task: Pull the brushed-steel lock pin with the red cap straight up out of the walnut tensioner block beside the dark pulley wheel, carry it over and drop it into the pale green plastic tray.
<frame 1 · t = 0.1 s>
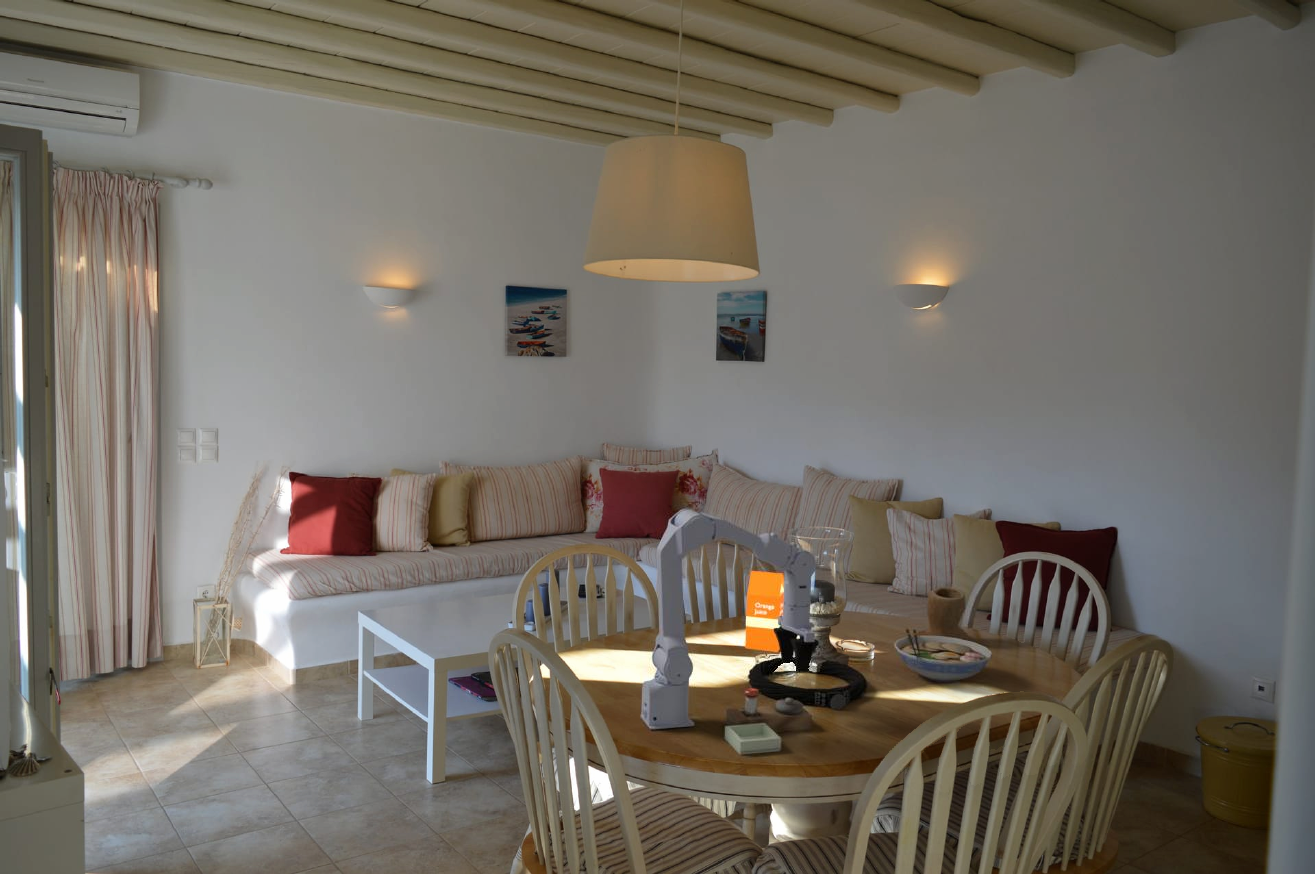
hand: (794, 666, 212), 10 cm above the table, tool pointing down, fingers open, 7 cm apart
tensioner block: (768, 726, 203), on the table
ramen bowl: (941, 678, 239), on the table
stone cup: (944, 642, 271), on the table
cable lock: (808, 690, 229), on the table
tray: (752, 744, 193), on the table
orange juice: (764, 647, 262), on the table
lock pin: (750, 727, 202), resting in tensioner block
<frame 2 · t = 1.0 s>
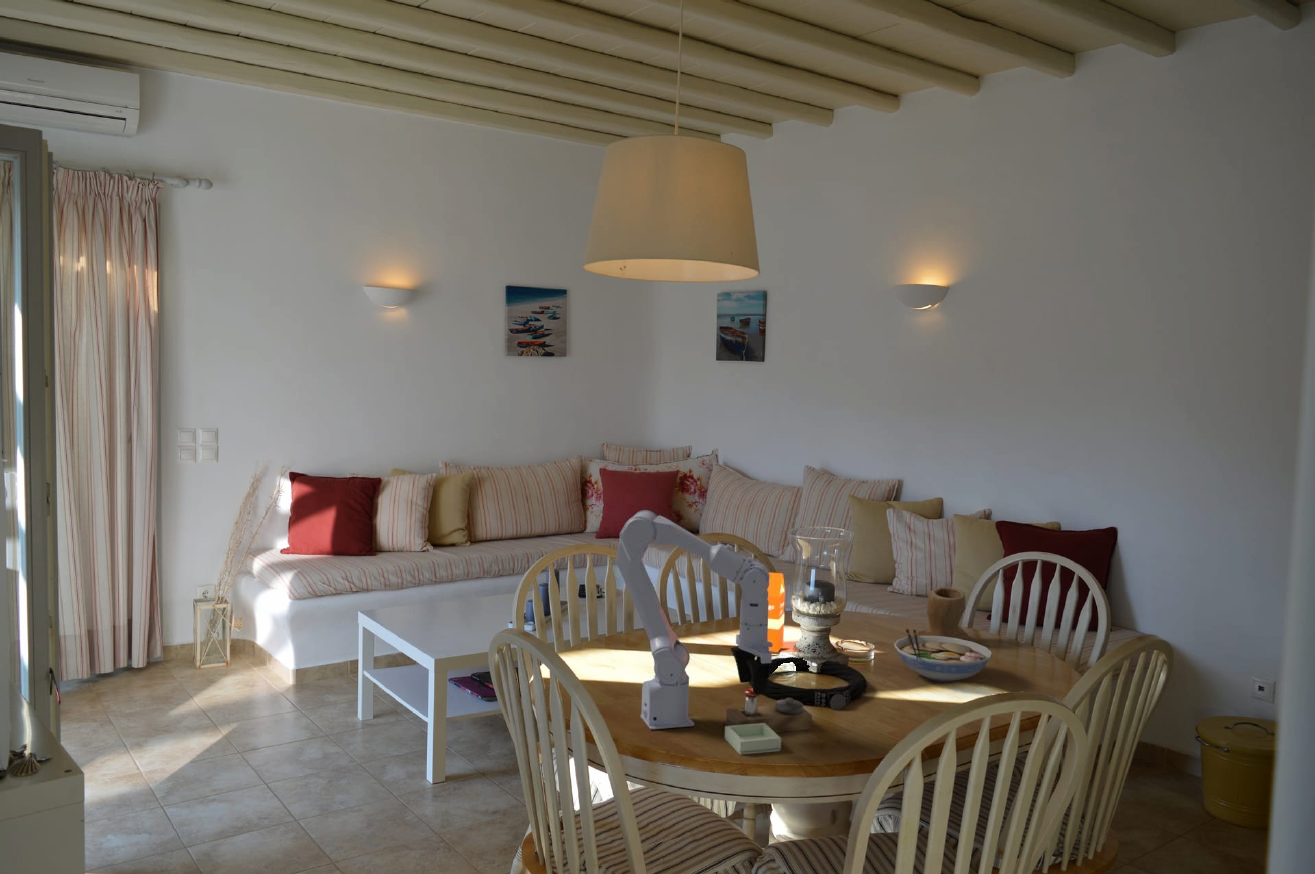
hand: (752, 687, 202), 8 cm above the table, tool pointing down, fingers open, 7 cm apart
nothing on the table moved.
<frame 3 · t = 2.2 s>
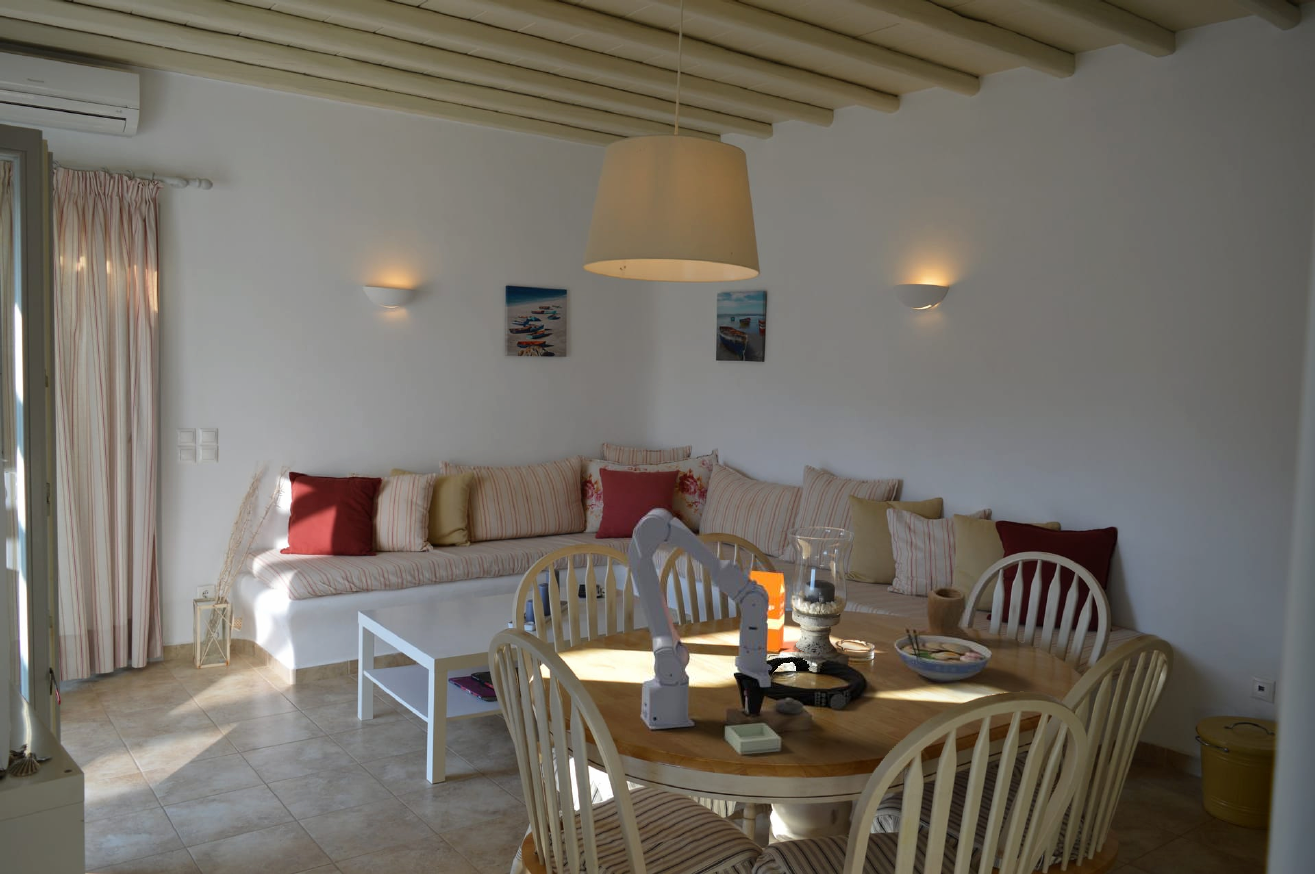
hand: (751, 710, 202), 4 cm above the table, tool pointing down, fingers closed on lock pin, 3 cm apart
lock pin: (750, 727, 202), resting in tensioner block, touching gripper
everything else where it was.
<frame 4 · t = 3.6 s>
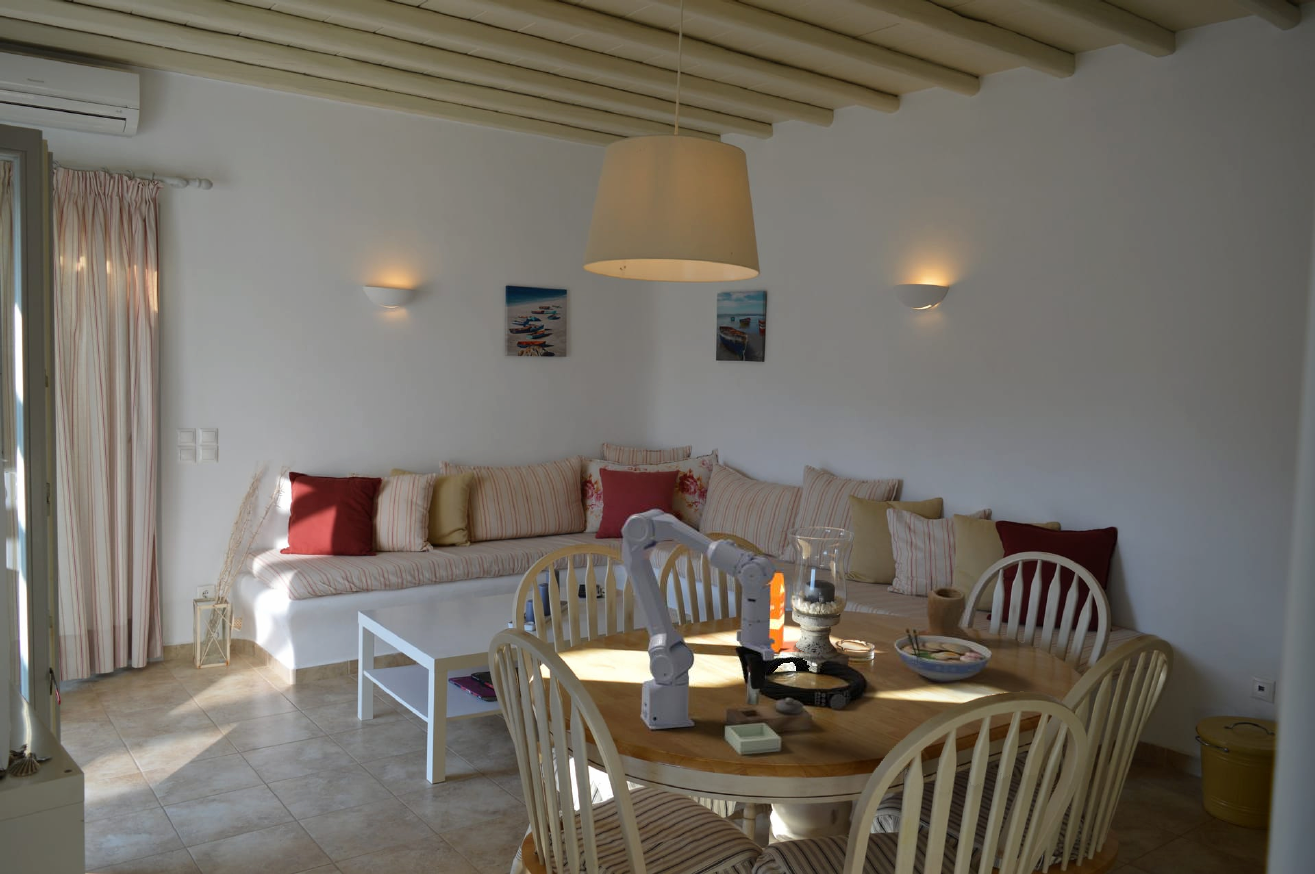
hand: (753, 685, 197), 10 cm above the table, tool pointing down, fingers closed on lock pin, 3 cm apart
lock pin: (752, 703, 197), point 7 cm above the table, touching gripper
everything else where it was.
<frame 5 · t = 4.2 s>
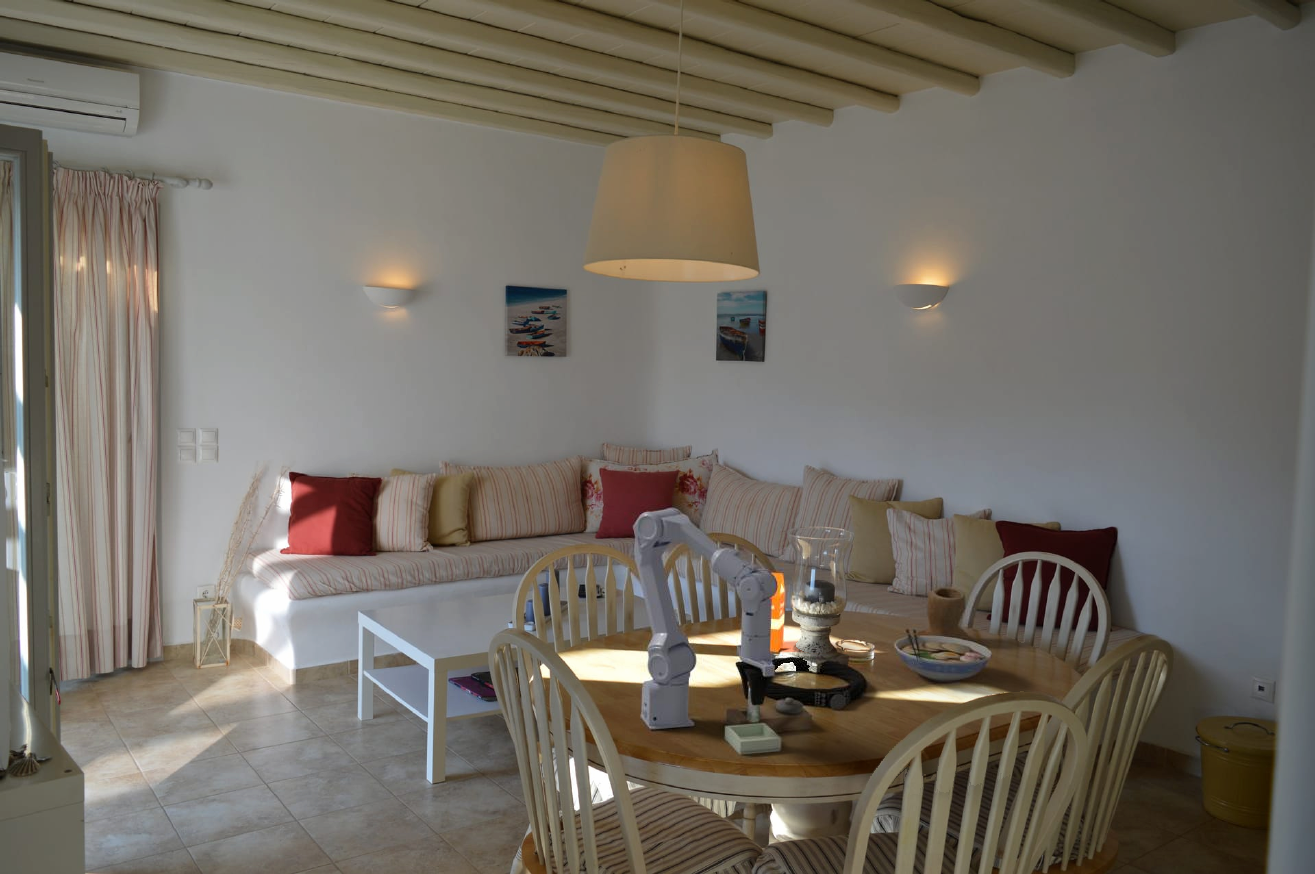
hand: (753, 701, 193), 9 cm above the table, tool pointing down, fingers closed on lock pin, 3 cm apart
lock pin: (753, 719, 193), point 5 cm above the table, touching gripper
everything else where it was.
when the fingers open (6 cm above the table, at t = 4.9 s): lock pin drops 1 cm, resting on tray.
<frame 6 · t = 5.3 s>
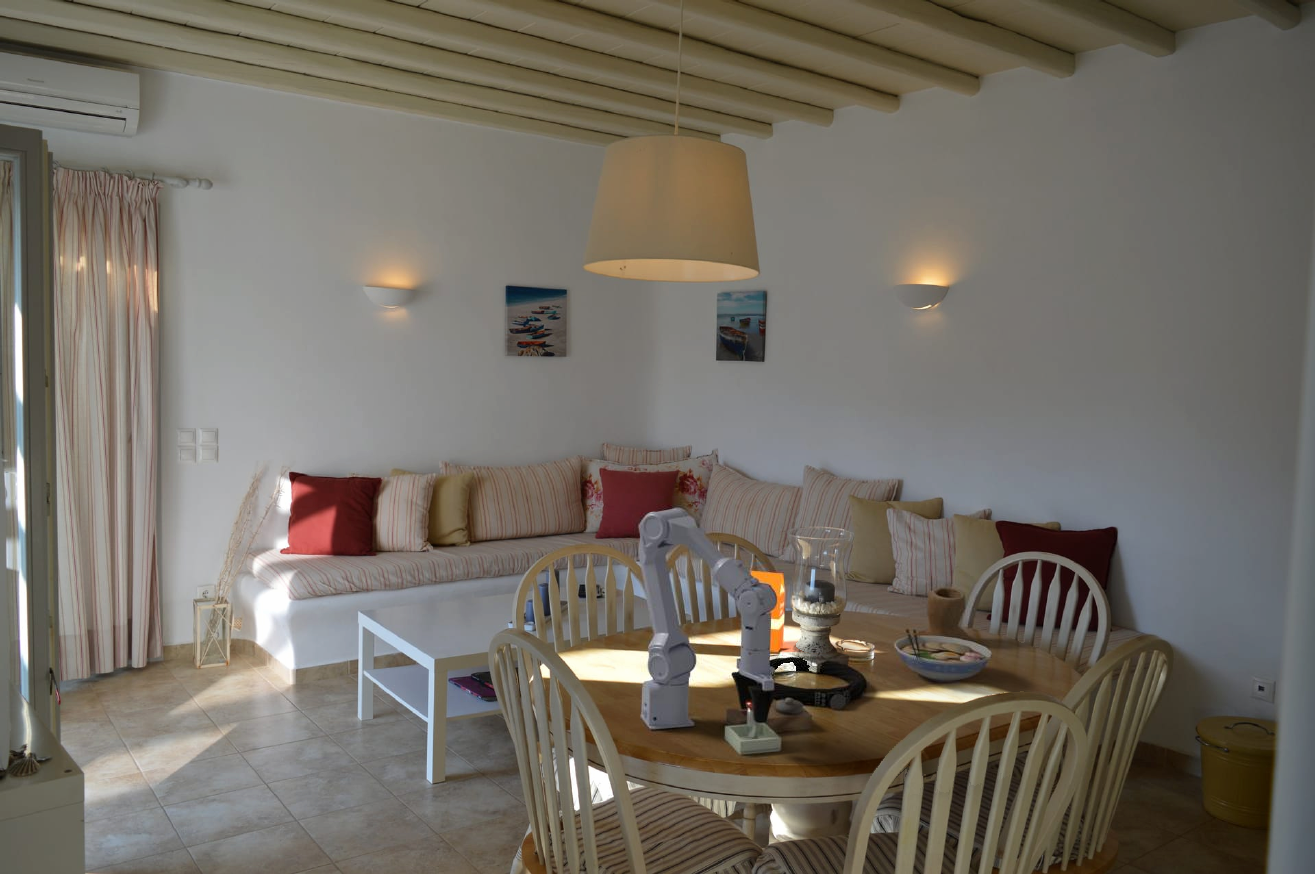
hand: (753, 715, 193), 6 cm above the table, tool pointing down, fingers open, 7 cm apart
lock pin: (752, 740, 194), point 1 cm above the table, touching tray
everything else where it was.
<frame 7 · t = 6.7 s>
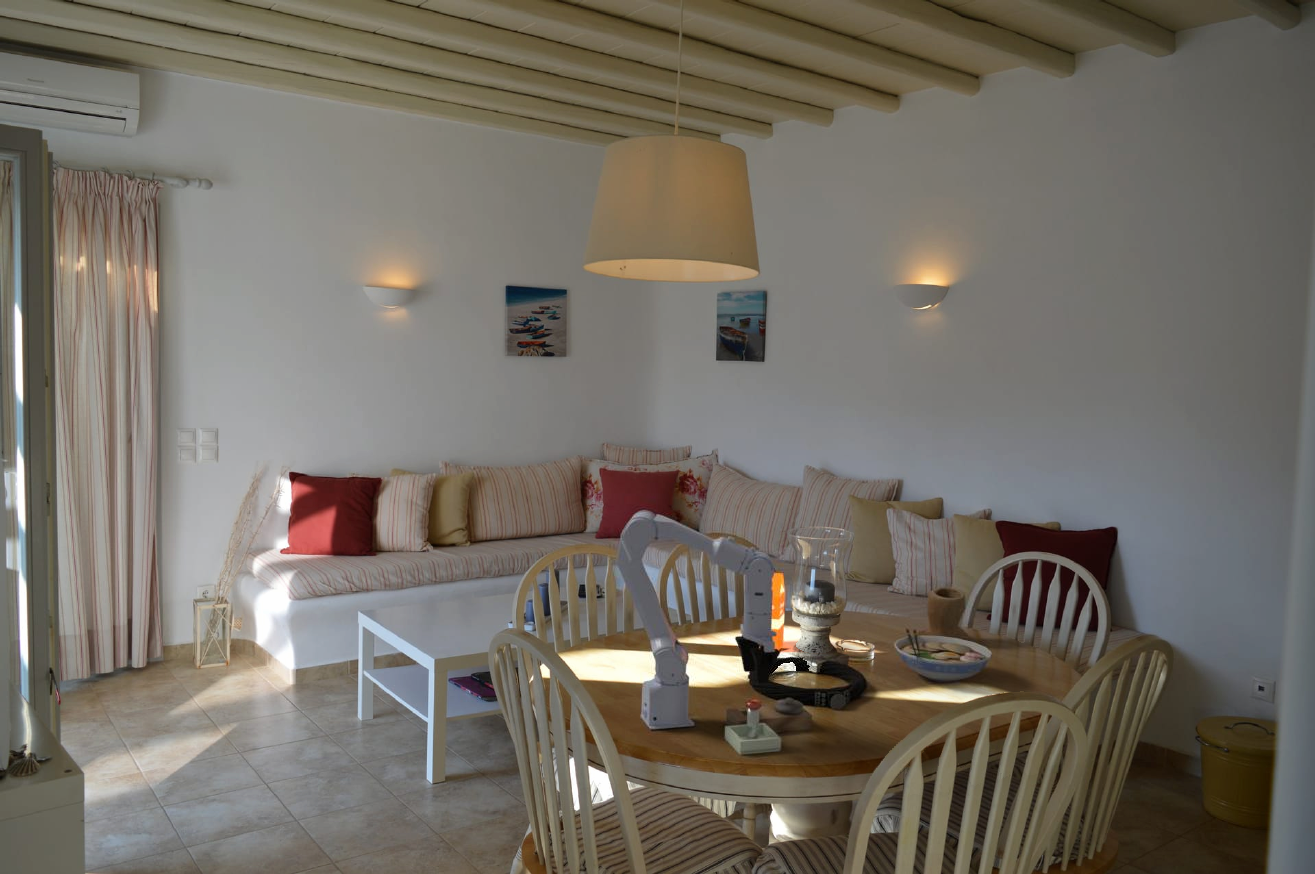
hand: (755, 676, 202), 10 cm above the table, tool pointing down, fingers open, 7 cm apart
nothing on the table moved.
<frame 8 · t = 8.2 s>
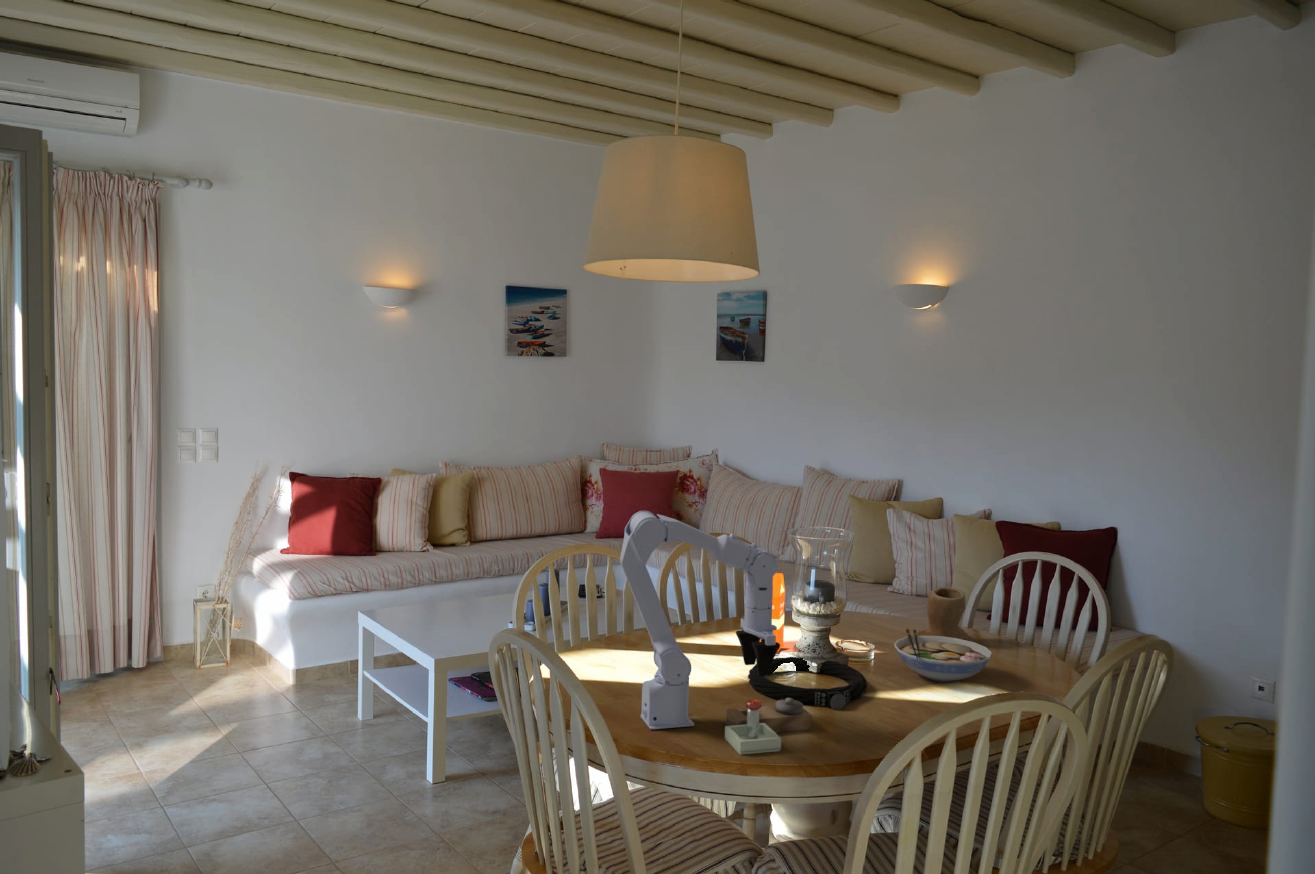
hand: (756, 669, 207), 10 cm above the table, tool pointing down, fingers open, 7 cm apart
nothing on the table moved.
at the end: lock pin inside the target area on the tray (0.3 cm from its centre), point 0.6 cm above the tray's base; the gripper is holding nothing; lock pin inside the target area on the table beside the tensioner block (46.8 cm from its centre), point 0.6 cm above the table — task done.
